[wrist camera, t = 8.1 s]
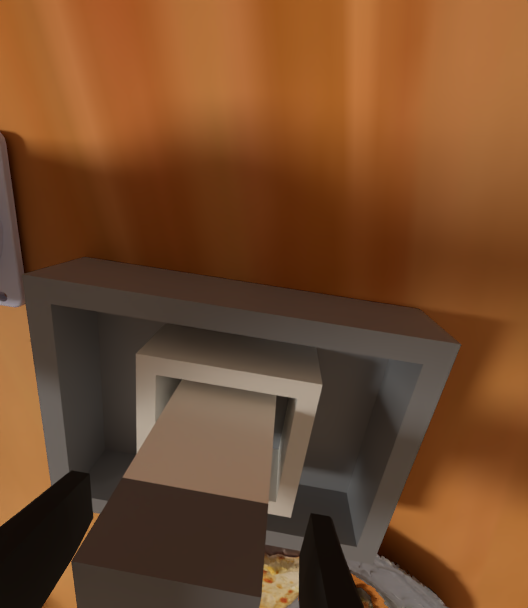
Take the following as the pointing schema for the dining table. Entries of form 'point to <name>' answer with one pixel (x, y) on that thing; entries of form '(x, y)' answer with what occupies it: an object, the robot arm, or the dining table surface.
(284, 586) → the food plate
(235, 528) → the block
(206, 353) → the caddy
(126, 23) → the dining table surface
